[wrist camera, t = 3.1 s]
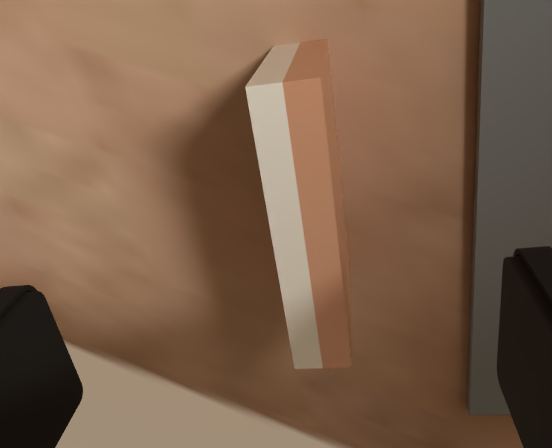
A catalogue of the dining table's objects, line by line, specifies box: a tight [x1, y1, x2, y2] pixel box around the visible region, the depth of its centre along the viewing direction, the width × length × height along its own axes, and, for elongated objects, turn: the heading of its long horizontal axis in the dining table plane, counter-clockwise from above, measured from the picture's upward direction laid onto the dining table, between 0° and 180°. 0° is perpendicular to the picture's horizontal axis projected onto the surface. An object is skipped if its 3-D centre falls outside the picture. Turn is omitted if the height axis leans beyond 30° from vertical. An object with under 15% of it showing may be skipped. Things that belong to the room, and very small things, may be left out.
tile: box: [245, 39, 351, 369], centre depth 15 cm, size 8×2×5 cm, turn 8°
